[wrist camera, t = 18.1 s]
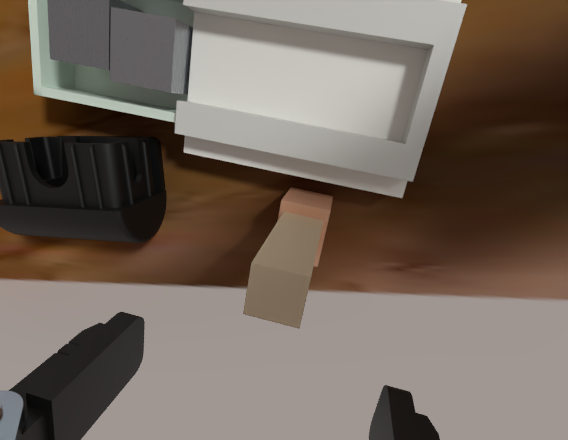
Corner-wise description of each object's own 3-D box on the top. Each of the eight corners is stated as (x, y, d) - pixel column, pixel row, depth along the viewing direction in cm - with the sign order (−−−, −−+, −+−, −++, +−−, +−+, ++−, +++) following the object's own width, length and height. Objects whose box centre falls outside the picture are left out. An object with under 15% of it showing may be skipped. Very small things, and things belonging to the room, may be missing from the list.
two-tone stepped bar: (333, 196, 25) (321, 264, 14) (321, 245, 27) (302, 343, 15) (291, 187, 26) (246, 246, 14) (281, 235, 27) (234, 325, 16)
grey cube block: (203, 33, 23) (175, 17, 19) (197, 95, 24) (170, 92, 21) (148, 23, 23) (110, 7, 20) (145, 85, 25) (109, 80, 21)
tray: (211, -2, 23) (189, -21, 19) (200, 121, 25) (178, 123, 22) (69, -24, 24) (25, -45, 21) (72, 96, 27) (33, 94, 23)
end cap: (69, 218, 30) (-6, 246, 24) (52, 135, 28) (-34, 142, 22) (175, 224, 28) (125, 257, 22) (166, 136, 26) (108, 145, 20)
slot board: (453, -3, 20) (476, -29, 17) (396, 189, 24) (405, 204, 21) (215, -37, 22) (188, -68, 18) (198, 148, 26) (173, 155, 22)
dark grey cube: (109, -6, 20) (46, -16, 20) (108, 70, 21) (50, 59, 21) (147, 13, 23) (94, 4, 24) (145, 76, 25) (94, 67, 25)
